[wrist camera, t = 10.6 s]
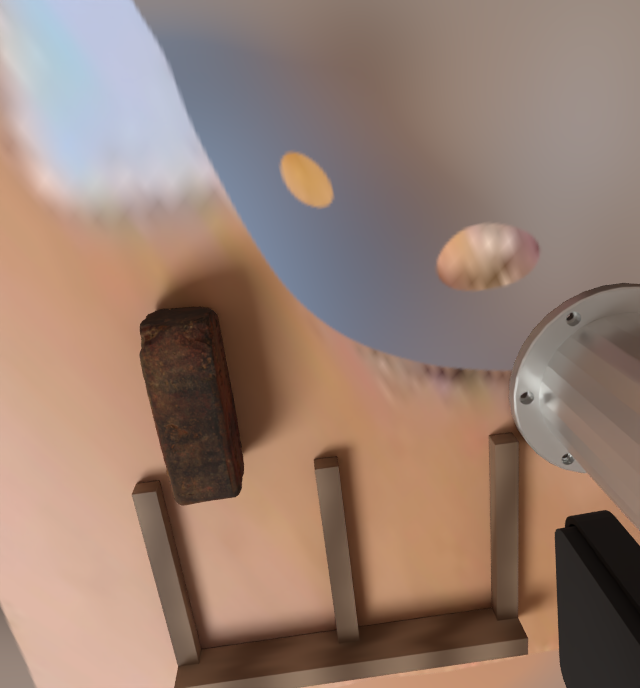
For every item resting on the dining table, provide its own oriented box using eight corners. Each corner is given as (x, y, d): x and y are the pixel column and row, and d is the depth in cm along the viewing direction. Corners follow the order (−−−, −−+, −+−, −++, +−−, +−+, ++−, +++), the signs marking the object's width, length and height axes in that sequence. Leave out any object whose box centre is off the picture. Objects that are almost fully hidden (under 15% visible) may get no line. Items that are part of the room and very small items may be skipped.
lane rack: (511, 432, 38) (530, 456, 35) (511, 620, 44) (527, 654, 41) (136, 483, 37) (124, 512, 35) (184, 667, 43) (178, 705, 40)
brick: (247, 456, 38) (242, 499, 33) (185, 465, 37) (173, 509, 33) (217, 299, 34) (208, 323, 30) (149, 308, 34) (129, 334, 29)
